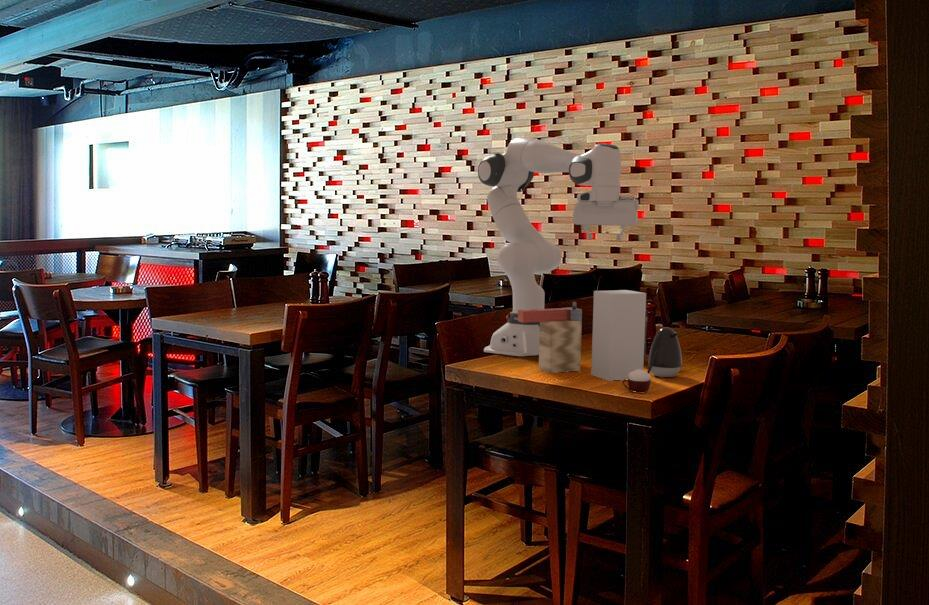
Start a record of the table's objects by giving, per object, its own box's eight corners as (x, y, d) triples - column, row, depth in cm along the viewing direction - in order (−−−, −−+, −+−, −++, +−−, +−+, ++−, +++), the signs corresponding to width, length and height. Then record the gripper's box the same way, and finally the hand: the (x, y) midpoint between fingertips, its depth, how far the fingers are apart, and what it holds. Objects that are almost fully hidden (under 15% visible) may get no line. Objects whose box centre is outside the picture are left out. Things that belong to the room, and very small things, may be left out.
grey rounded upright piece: (661, 380, 258) (663, 330, 256) (640, 374, 267) (642, 325, 266) (688, 378, 262) (691, 328, 260) (667, 372, 272) (669, 324, 270)
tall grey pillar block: (609, 381, 255) (612, 294, 253) (591, 375, 265) (593, 290, 262) (642, 378, 260) (646, 293, 257) (624, 372, 269) (627, 290, 266)
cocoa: (621, 393, 241) (620, 351, 240) (627, 388, 247) (626, 347, 245) (655, 395, 237) (654, 352, 236) (660, 390, 243) (659, 348, 241)
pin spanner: (524, 323, 261) (525, 305, 261) (515, 320, 267) (516, 303, 266) (581, 320, 269) (582, 303, 269) (571, 318, 275) (572, 301, 274)
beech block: (549, 373, 266) (550, 322, 264) (538, 369, 273) (539, 319, 271) (580, 371, 271) (581, 320, 269) (568, 367, 277) (570, 318, 275)
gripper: (640, 196, 269) (639, 240, 271) (576, 195, 277) (575, 238, 278) (637, 196, 263) (635, 241, 265) (572, 195, 271) (570, 239, 272)
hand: (604, 240), depth 272 cm, fingers open, 8 cm apart
